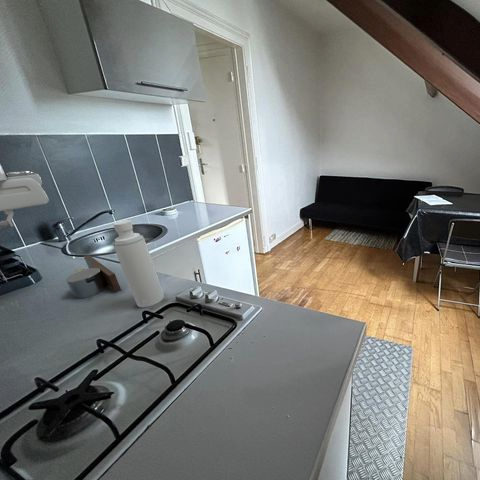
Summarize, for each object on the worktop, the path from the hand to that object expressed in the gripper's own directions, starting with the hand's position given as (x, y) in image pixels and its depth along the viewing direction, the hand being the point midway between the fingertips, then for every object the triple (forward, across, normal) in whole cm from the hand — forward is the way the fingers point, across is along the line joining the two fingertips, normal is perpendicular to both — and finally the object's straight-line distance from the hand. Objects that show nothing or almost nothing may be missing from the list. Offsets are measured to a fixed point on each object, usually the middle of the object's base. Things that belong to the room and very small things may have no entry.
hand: (5, 227), depth 69 cm
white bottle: (+22, -18, +30) cm, 42 cm away
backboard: (+22, -14, +3) cm, 27 cm away
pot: (+22, -10, +8) cm, 26 cm away
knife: (+22, -11, -5) cm, 26 cm away
